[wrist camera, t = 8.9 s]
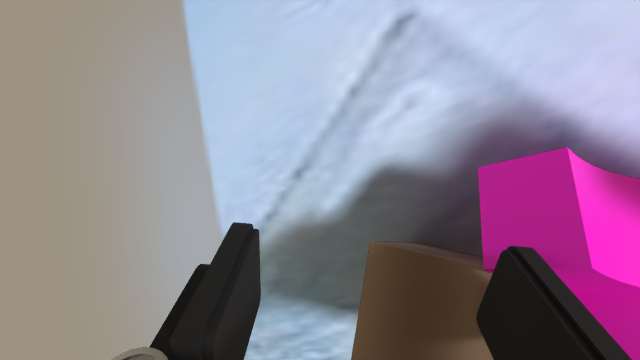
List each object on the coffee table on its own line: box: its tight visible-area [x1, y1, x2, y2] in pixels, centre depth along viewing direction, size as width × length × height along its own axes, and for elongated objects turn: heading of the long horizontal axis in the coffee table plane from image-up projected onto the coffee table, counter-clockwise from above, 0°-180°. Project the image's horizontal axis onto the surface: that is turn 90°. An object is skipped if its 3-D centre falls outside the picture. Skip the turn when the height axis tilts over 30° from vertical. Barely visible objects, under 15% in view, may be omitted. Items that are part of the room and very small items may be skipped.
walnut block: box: [351, 242, 494, 360], centre depth 14 cm, size 5×5×6 cm
